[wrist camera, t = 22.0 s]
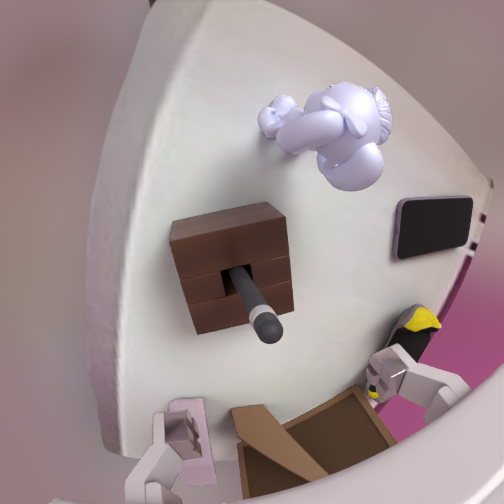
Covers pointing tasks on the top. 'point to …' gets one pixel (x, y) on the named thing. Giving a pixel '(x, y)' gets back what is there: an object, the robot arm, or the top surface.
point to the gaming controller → (410, 335)
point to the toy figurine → (334, 131)
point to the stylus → (256, 307)
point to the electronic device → (201, 468)
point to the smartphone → (431, 225)
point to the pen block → (232, 263)
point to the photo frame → (306, 443)
